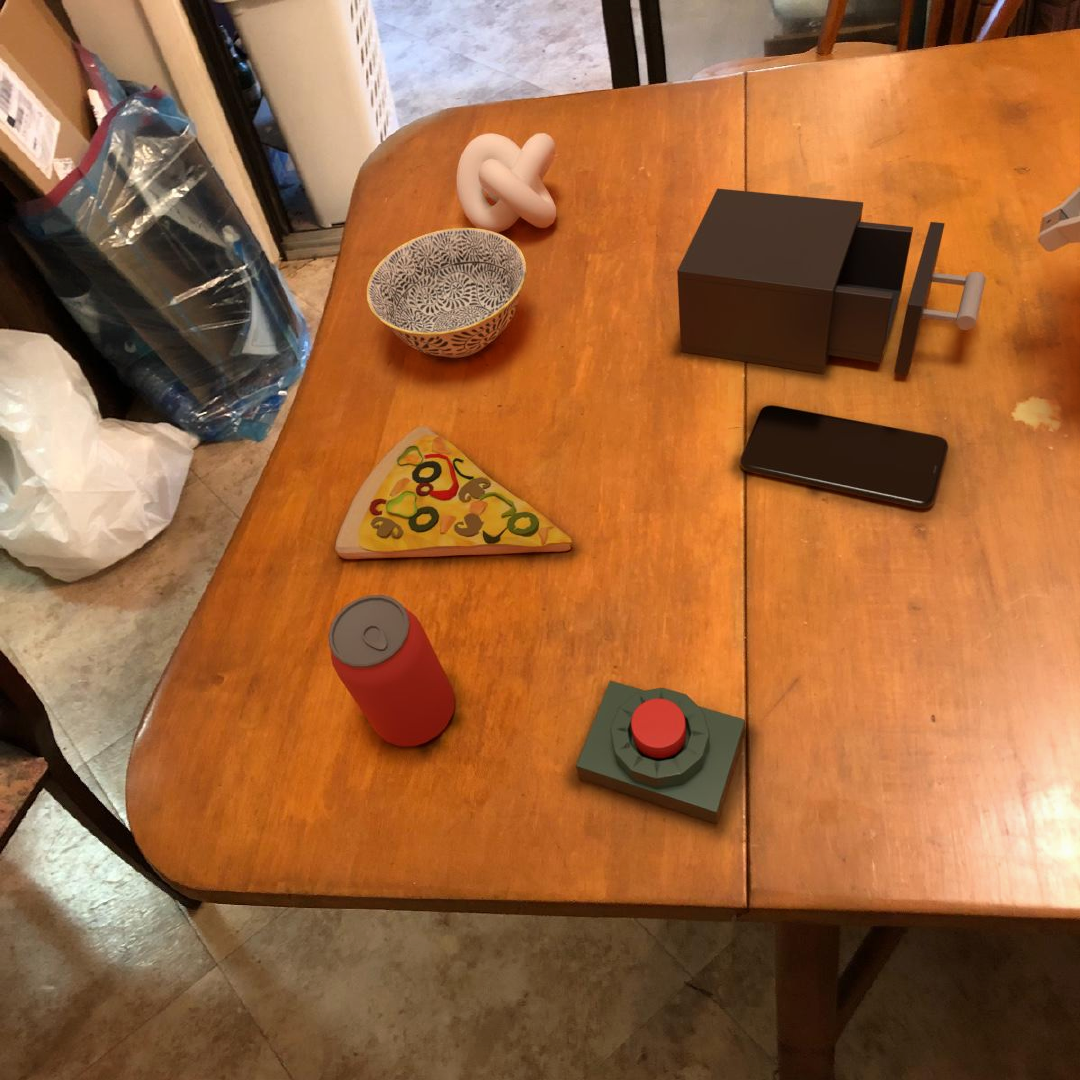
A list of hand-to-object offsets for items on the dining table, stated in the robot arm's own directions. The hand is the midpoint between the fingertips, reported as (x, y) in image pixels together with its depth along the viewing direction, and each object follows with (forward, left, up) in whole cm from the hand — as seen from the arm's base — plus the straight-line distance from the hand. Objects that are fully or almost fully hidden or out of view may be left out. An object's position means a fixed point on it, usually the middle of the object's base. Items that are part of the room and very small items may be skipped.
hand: (1043, 234), depth 75 cm
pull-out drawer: (+12, 0, -12) cm, 16 cm away
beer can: (+36, +49, -13) cm, 62 cm away
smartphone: (+11, +16, -12) cm, 23 cm away
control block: (+17, +47, -12) cm, 51 cm away
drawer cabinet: (+22, 0, -12) cm, 25 cm away
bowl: (+51, +9, -13) cm, 53 cm away
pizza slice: (+40, +31, -13) cm, 52 cm away
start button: (+17, +47, -9) cm, 50 cm away
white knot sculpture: (+54, -11, -13) cm, 57 cm away
